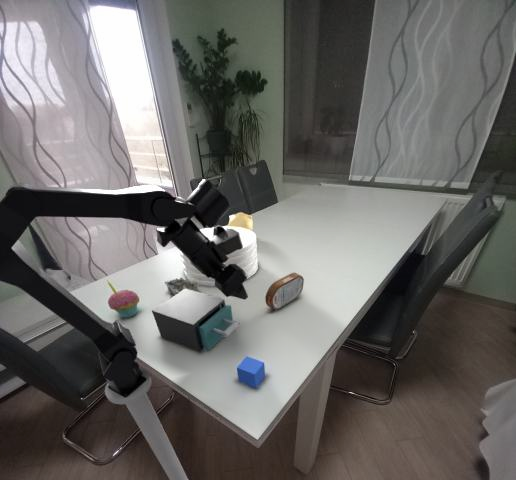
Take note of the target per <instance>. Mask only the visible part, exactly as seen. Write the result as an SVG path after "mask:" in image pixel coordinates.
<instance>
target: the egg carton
mask: <svg viewBox="0 0 516 480" xmlns="http://www.w3.org/2000/svg"><path fill="white" fill-rule="evenodd" d="M164 284H165V285H166V287H167V290H168V291H167V292H168V293H169V294H173V296H175V295H176V294H178V293H179V292H181V291H182V290H184V289H189V290H192V291H196V292H199V291H198V285H199V284H197V283H196V282H195V281H193V282H192V281H190V280H188V279H184V278H183V277H179V279H178V278H175V279H172V280H169V281H164Z"/></svg>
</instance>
